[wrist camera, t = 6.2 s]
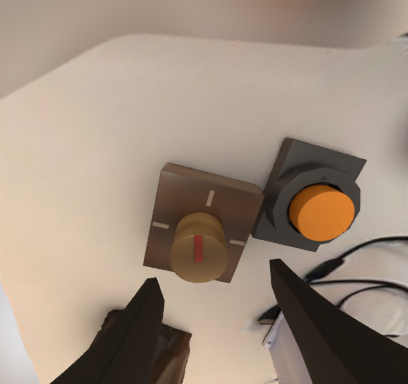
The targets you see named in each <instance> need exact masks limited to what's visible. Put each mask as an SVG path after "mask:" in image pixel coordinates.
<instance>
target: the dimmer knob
mask: <svg viewBox="0 0 408 384" xmlns="http://www.w3.org/2000/svg"><path fill="white" fill-rule="evenodd" d="M228 260H229V257H228V251H227V246H226V241H225V235H224V230H223V227H222V224H221V223H220V221H219V220H218V219H217V218H216V217H214V216H213V215H210V214H208V213H204V212H196V213H191V214H189V215H187V216H185V217H184V218H182V219H181V220H180V222H179V223H178V225H177V227H176V231H175V235H174V239H173V243H172V247H171V251H170V256H169V261H170V265H171V267H172V269H173V271H174V272H175V273H176V274H177V275H178V276H179V277H180V278H182V279H184V280H186V281H189V282H194V283H204V282H209V281H212V280H214V279H216V278H218V277H219V276H220V275H221V274H222V273H223V272H224V271H225V269H226V267H227V265H228Z"/></svg>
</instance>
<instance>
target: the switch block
mask: <svg viewBox="0 0 408 384" xmlns="http://www.w3.org/2000/svg"><path fill="white" fill-rule="evenodd" d="M366 161H367V160H365V159H361V158H358V157H354V156H351V155H347V154H344V153H340V152H337V151H333V150H330V149H326V148H323V147H319V146H316V145H312V144H309V143H305V142H302V141H298V140H295V139H290V138H285V140H284V143H283V145H282V148H281V150H280V153H279V155H278V158H277V160H276V163H275V165H274V168H273V170H272V173H271V175H270V178H269V180H268V183H267V186H266V188H265V191H264V193H263V194H264V195H265V197H264V200H263V202H262V205H261V207H260V210H259V212H258V215H257V217H256V220H255V222H254V225H253V227H252V230H251V234H252V237H253V238H256V239H260V240H265V241H269V242H273V243H278V244H282V245H287V246H291V247H295V248H300V249H304V250H308V251H313V252H316V251H317V249H318V247H319V245H321V244H325V243H330V242H331V241H333V240H334V239H335V238H337V237H338V236H337V237H335V238H333V239H330V240H326V241H314V240H310V239H308V238H306V237H305V236H304V235H303V234H302V233H301V232H300V231H299V230H298V229H297V228H296V227H295V225H294V224H293V223H292V222H291V220H290V217H289V207H290V204H291V202H292V200H293V198H294V197H295V196H296V195H297V194H298V193H299V192H300V191H301V190H303V189H305V188H307V187H309V186H312V185H327V186H330V187H331V188H333V189H335V190H337V191H339V192H341V193H343V194H345V195H347V196H348V197H349V198H350V199H351V201H352V202H353V205H354V210H355V212H354V218H353V220H352V222H351V224H350V226H349V227H348V228H347V229H346V230H345V231H347V230H348V229H349V228H350V227H351V225H352V223H353V222H354V220H355V218H356V217H357V215H358V213H359V212H360V188H359V187H358V185H357V184H356V183H355V181H356V179H357V177H358V176H359V174H360V172H361V170H362V169H363V167H364V165H365V163H366ZM345 231H344V232H345ZM344 232H343V233H344ZM343 233H342V234H343ZM339 236H340V235H339Z"/></svg>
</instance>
